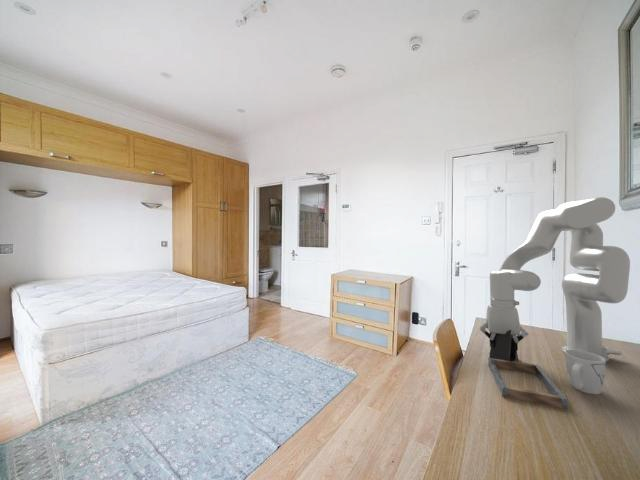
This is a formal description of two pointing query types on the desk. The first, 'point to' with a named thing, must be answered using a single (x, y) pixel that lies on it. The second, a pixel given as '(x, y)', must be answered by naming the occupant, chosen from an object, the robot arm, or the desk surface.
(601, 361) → the mug
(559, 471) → the desk surface
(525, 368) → the wooden frame
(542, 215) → the robot arm
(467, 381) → the desk surface
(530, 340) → the desk surface
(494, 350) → the phone stand
